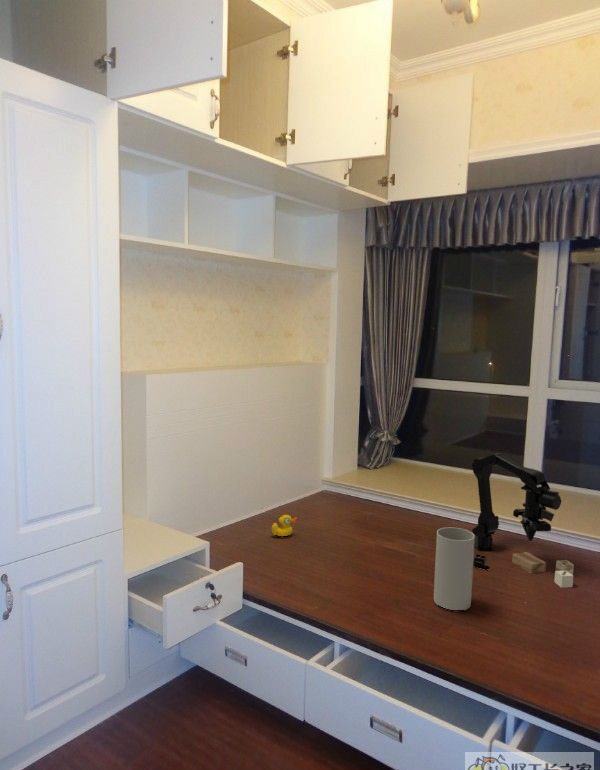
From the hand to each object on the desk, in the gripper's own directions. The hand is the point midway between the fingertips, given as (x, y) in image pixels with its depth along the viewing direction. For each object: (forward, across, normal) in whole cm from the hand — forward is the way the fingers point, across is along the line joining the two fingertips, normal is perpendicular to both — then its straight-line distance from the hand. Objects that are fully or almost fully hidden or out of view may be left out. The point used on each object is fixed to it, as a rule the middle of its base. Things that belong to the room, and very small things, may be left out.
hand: (530, 540), depth 229 cm
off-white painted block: (+11, -16, -5) cm, 20 cm away
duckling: (+12, +40, +95) cm, 104 cm away
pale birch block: (+11, -7, -11) cm, 17 cm away
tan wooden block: (+11, 0, 0) cm, 11 cm away
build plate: (+12, +2, +19) cm, 23 cm away
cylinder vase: (+11, -26, +43) cm, 51 cm away
